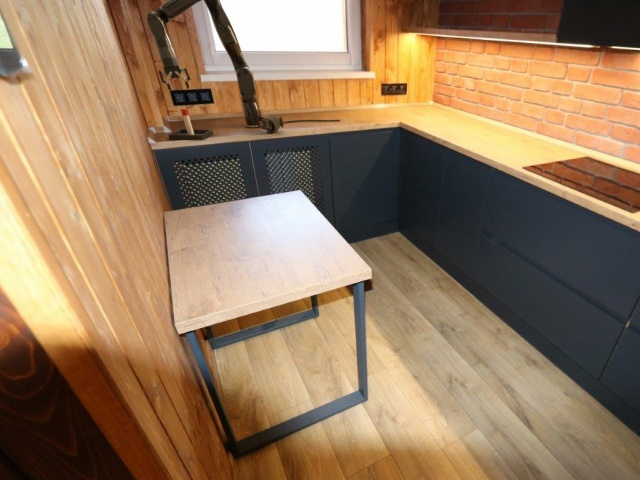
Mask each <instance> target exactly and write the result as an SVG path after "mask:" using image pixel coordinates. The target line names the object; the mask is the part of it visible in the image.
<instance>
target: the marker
mask: <svg viewBox="0 0 640 480" xmlns="http://www.w3.org/2000/svg"><path fill="white" fill-rule="evenodd" d="M180 112H181V115H182V118H183V122H184V126H185V129H187V132H188V135H194V132H193V129H194V128H193V125H192V120H191V119H190V114H189V111H188V108H181V109H180Z"/></svg>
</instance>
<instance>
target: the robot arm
mask: <svg viewBox="0 0 640 480" xmlns="http://www.w3.org/2000/svg"><path fill="white" fill-rule="evenodd" d="M202 1H203V2H204V4H205V6H206V8H207V10H208V12H209V14H210V17H211V18H210V19H211V20H212V23H213V27H214V28H215V29H214V30H215V32H216V34H217V36H218V39H219V40H220V43H221V45H222V47H223V48H224V50H225V52H226V53H227V55H228V57H229V58H230V61H231V63H232V66H233V69H234V72H235V76H236V80H237V85H238V90H239V91H238V92H239V95H240V100H241V105H242V110H243V115H244V116H243V117H244V120H245V126H246V127H247V128H251V129H252V128H253V129H255V128H262V127H263V126H262V119H261V117H264V116H265V114H264V115H262V111H261V109H260V106H259V101H258V95H257V88H256V82H255V76H254V73H253V72H252V70H251V68H250V66H249V64H248V63H247V61H246V59H245V57H244V55H243V51H242V48H241V44H240V41H239V38H238V36H237V33H236V31H235V27H234V26H233V24H232V22H231V20H230V18H229V16H228V15H227V13H226V12H225V9H224V8H223V6H222V3H221V0H167V1H164V3H162V4H161V5H160V6H158V7H157V8H155V9H154V10H153V11H148V12H147V13H146V15H145V20H146V23H147V25H148V28H149V30H150V32H151V35H152V37H153V41H154V43H155V46H156V49H157V53H158V56H159V59H160V61H161V64H162V66H163V70H161V69H160V70H158V74H159V77H160V81H161V83H162V84H165V85H166V87H167V89H168V91H170V92H172V91H173V90H172V87H171V85H170V80H171V79H179V78H180V79H182V80H183V81H184V83H185V84H184V85H185V87H186V90H189V89H190V85H189V81H191V77H190V74H189V72H188V69H187V68H186V67H184V68H181V67H180V65H179V62H178V59H177V56H176V53H175V51H174V48H173V45H172V43H171V40H170V38H169V36H168V34H167V31H166V28H165V25H167V24H168V23H169V22H171V21H173V20H174V19H176V18H178V17H180V16H181V15H183V14H184V13H185V12H187V11H188V10H189V9H191V8H192V7H193V6H194V5H196V4H198V3H199V2H202ZM182 72H183V73H184V74H185V76H186V77H185V76H183V75H182ZM164 74H165V75H167V77H166V80H165V79H164ZM299 122H301V123H302V122H341V119H296V120H294V119H293V120H287V121H283V123H284V124H287V123H299Z"/></svg>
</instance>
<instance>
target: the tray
mask: <svg viewBox="0 0 640 480" xmlns="http://www.w3.org/2000/svg"><path fill="white" fill-rule="evenodd" d="M192 129H193V132H194V135H188V132H187V129H186V128H179V129H177V130H175V131H173V132H171V133H169V134H168V138H169V140H183V141H184V140H187V141H204V140H206V139H207V138H209V137H211V136H212V135H214V132H213V129H204V128H203V129H201V128H199V129H197V128H192Z"/></svg>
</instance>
